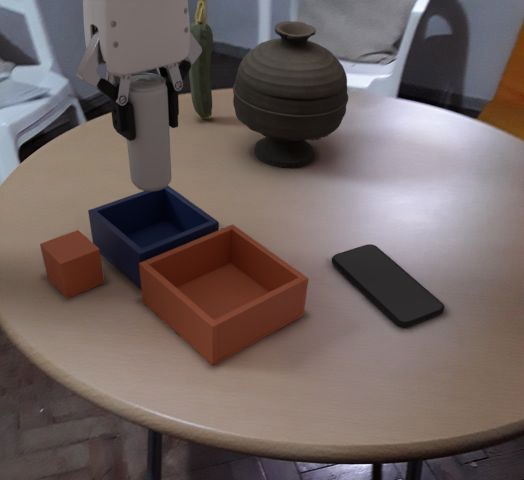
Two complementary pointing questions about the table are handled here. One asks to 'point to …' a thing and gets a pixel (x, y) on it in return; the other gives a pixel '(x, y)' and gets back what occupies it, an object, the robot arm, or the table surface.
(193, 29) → the vegetable
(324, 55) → the pot
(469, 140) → the table surface
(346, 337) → the table surface
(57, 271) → the terracotta block
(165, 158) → the beverage can
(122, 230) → the navy bin
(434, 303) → the smartphone
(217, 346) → the terracotta bin
